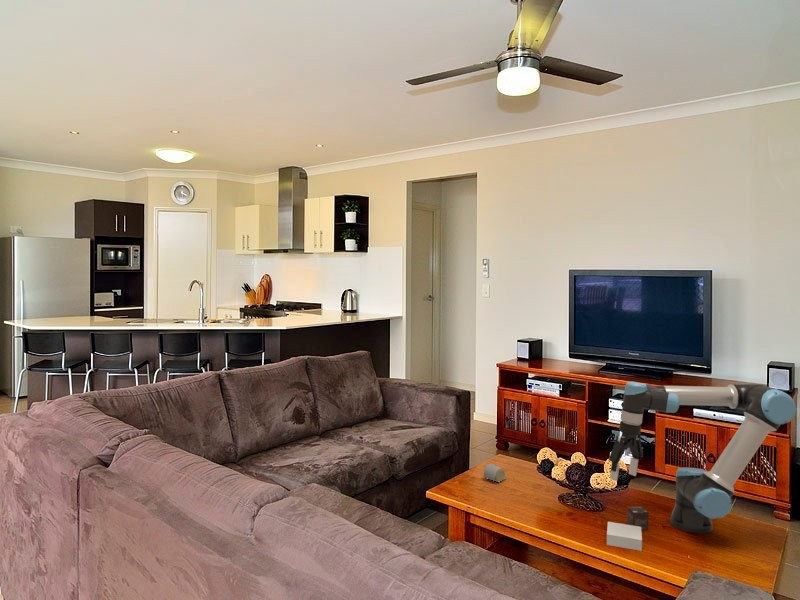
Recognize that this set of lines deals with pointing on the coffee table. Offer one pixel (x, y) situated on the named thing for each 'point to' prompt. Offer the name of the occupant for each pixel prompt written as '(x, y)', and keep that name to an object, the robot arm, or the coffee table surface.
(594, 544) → the coffee table surface
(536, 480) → the coffee table surface
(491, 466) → the ceramic mug
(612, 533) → the base block
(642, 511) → the box
